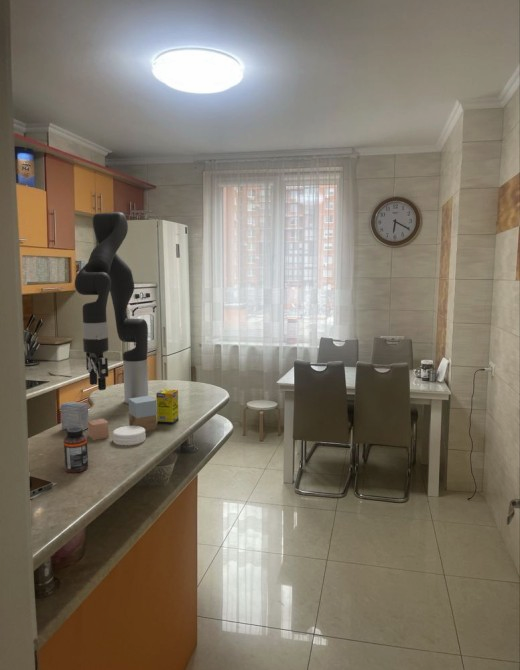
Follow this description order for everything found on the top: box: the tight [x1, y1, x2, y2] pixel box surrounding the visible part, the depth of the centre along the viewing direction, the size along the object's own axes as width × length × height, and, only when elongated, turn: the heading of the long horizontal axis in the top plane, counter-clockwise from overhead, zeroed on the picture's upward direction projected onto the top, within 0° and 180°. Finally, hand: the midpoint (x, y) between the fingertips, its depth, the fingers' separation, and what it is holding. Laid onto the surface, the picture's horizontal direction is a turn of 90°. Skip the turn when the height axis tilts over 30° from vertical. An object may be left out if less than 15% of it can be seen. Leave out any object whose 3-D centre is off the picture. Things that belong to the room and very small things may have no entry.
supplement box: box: [155, 388, 179, 425], centre depth 184 cm, size 6×6×11 cm
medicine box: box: [60, 401, 90, 432], centre depth 177 cm, size 8×4×9 cm, turn 71°
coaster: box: [112, 425, 147, 447], centre depth 166 cm, size 10×10×4 cm
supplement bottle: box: [63, 427, 89, 474], centre depth 143 cm, size 6×6×11 cm
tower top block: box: [128, 395, 157, 418], centre depth 177 cm, size 7×7×5 cm
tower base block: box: [128, 412, 158, 432], centre depth 178 cm, size 7×7×5 cm
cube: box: [87, 418, 110, 441], centre depth 170 cm, size 5×5×5 cm
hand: (97, 387), depth 167 cm, fingers open, 8 cm apart
